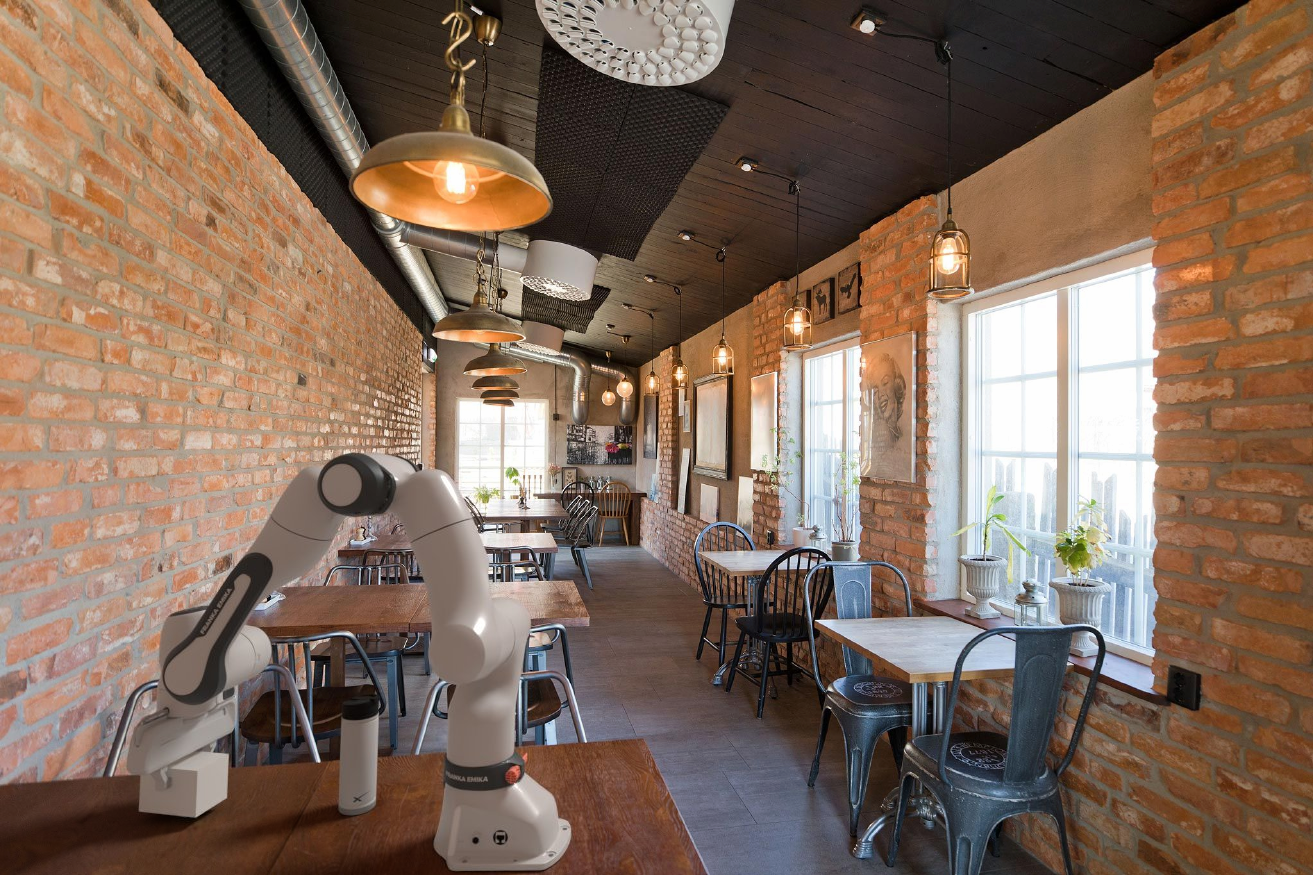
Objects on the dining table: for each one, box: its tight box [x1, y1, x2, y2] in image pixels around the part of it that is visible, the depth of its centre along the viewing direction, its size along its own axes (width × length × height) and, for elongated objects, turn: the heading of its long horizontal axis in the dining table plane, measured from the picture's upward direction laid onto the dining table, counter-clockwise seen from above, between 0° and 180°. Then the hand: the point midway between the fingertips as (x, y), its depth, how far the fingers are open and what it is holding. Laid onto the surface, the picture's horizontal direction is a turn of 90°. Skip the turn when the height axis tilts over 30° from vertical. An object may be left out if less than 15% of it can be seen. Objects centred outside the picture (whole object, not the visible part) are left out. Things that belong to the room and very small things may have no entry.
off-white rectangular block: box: [138, 750, 230, 819], centre depth 122 cm, size 11×7×8 cm, turn 81°
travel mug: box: [338, 693, 381, 816], centre depth 126 cm, size 6×7×20 cm
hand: (183, 778), depth 122 cm, fingers closed on off-white rectangular block, 7 cm apart
